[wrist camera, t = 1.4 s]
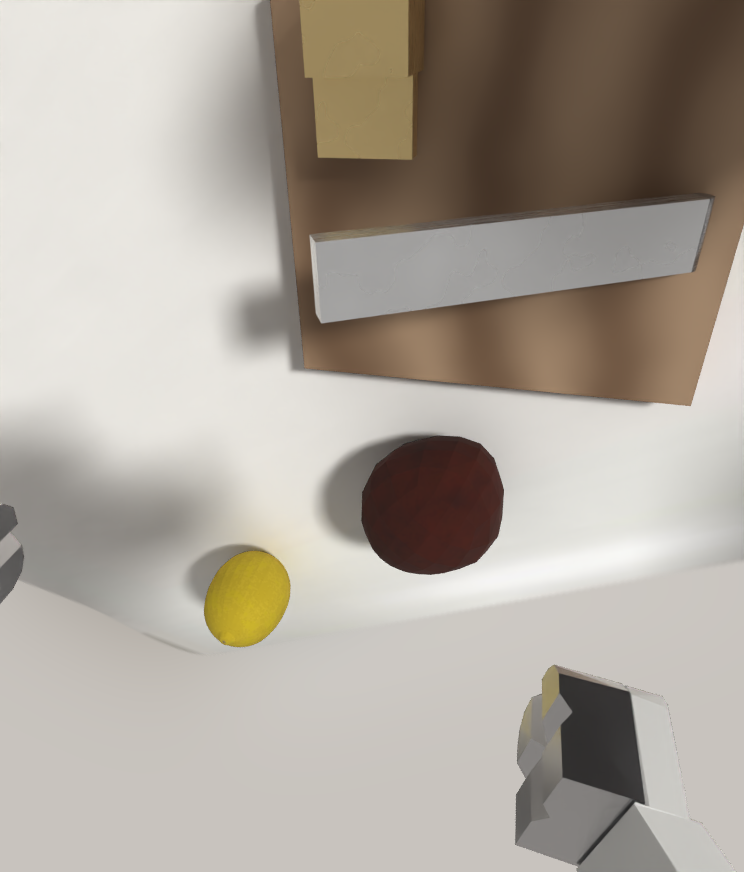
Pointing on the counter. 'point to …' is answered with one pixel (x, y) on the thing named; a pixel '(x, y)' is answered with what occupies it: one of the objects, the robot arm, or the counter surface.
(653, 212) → the bar
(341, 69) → the block
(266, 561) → the lemon
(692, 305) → the brown square board
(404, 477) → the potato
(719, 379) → the counter surface
